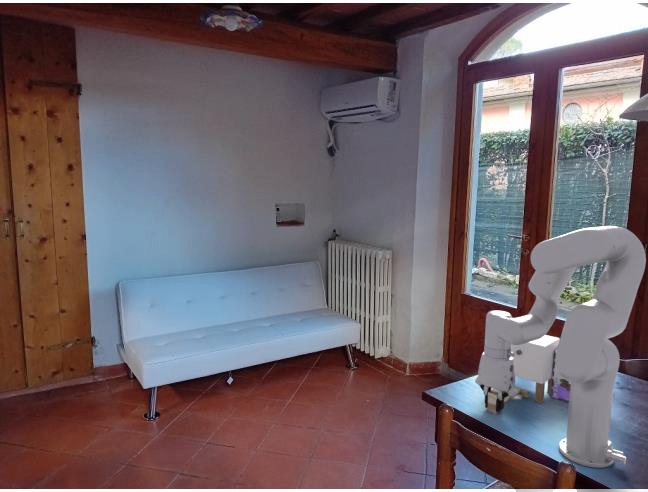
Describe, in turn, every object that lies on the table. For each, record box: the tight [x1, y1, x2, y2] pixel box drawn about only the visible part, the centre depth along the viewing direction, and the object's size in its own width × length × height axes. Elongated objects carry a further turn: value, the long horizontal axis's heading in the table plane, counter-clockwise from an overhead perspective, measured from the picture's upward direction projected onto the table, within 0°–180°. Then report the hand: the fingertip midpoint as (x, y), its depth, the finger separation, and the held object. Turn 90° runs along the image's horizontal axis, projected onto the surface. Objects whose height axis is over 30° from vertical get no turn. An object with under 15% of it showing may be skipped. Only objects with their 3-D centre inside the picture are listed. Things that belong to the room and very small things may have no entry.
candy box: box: [550, 349, 571, 403], centre depth 156 cm, size 14×6×16 cm, turn 47°
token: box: [509, 393, 523, 401], centre depth 160 cm, size 5×5×1 cm
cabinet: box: [511, 334, 560, 404], centre depth 163 cm, size 16×13×19 cm
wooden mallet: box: [486, 385, 530, 415], centre depth 155 cm, size 20×6×6 cm, turn 133°
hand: (493, 408), depth 149 cm, fingers closed on wooden mallet, 2 cm apart
